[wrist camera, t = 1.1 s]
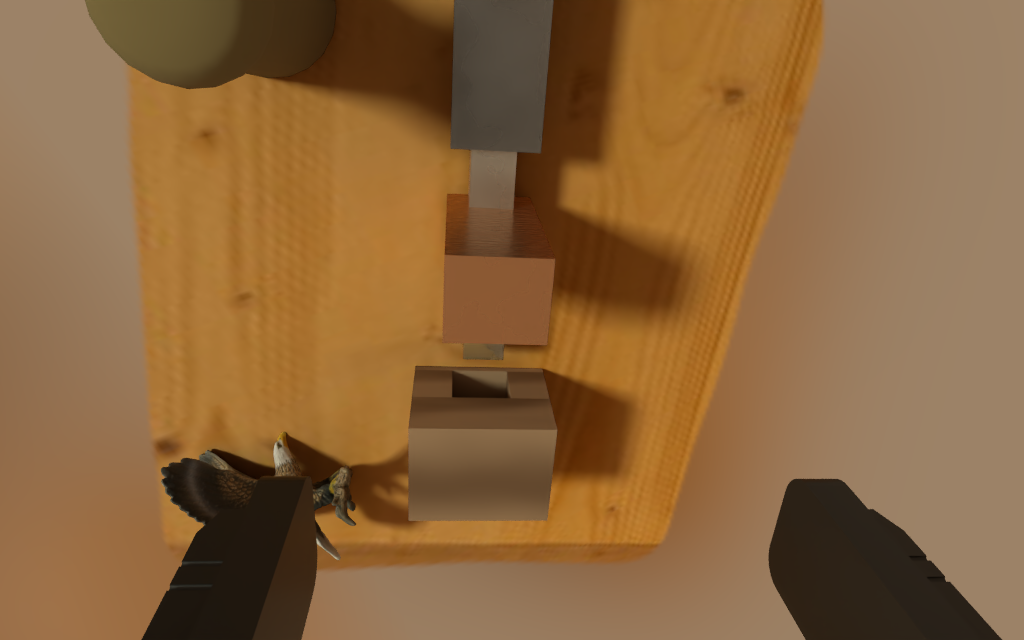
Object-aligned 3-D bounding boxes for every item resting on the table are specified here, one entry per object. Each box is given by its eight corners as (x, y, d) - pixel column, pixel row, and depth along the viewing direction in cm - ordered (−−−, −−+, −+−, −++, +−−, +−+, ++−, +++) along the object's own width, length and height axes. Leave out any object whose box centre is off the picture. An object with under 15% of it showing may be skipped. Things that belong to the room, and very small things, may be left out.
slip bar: (453, -50, 27) (452, -79, 19) (548, -42, 28) (587, -67, 20) (443, 338, 35) (440, 436, 27) (518, 339, 35) (537, 437, 27)
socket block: (415, 366, 36) (408, 428, 30) (542, 368, 37) (557, 429, 31) (415, 449, 38) (408, 520, 33) (534, 450, 39) (547, 520, 33)
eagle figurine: (343, 397, 35) (159, 421, 33) (356, 530, 31) (150, 566, 29) (351, 450, 41) (197, 473, 39) (362, 566, 38) (193, 598, 36)
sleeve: (442, -85, 27) (439, -106, 23) (561, -75, 28) (582, -93, 23) (438, 133, 31) (435, 152, 26) (543, 138, 31) (558, 159, 27)
